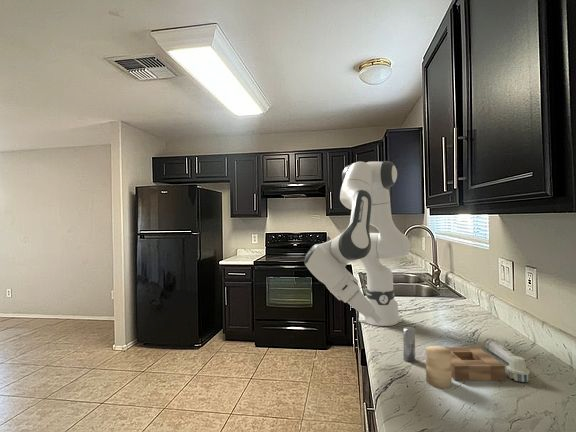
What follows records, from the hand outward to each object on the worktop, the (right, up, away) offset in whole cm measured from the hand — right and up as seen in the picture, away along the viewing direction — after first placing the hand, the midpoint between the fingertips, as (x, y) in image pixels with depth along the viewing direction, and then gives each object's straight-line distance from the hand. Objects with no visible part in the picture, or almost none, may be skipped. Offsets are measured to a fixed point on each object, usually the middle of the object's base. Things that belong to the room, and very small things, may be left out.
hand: (375, 316), depth 109 cm
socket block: (+26, -14, -7) cm, 30 cm away
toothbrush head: (+39, -14, -4) cm, 42 cm away
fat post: (+14, -14, -15) cm, 25 cm away
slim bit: (+11, -14, 0) cm, 18 cm away
